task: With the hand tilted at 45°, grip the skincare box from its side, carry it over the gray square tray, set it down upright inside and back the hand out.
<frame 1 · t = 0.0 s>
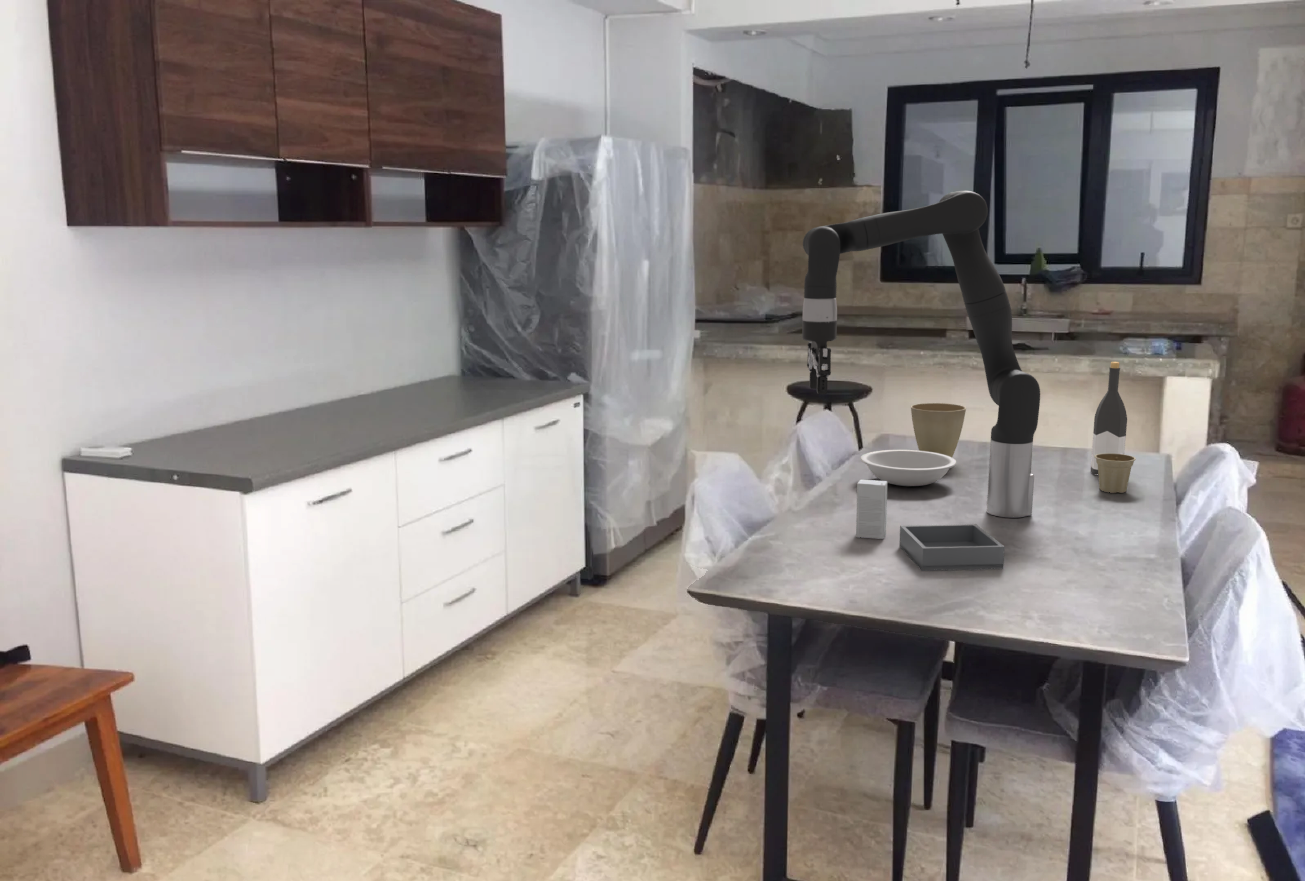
hand: (818, 391, 239), 29 cm above the table, tool pointing down, fingers open, 8 cm apart
wine bottle: (1106, 474, 285), on the table
skincare box: (870, 536, 230), on the table
flower pot: (1112, 491, 267), on the table
soup bowl: (906, 484, 276), on the table
plant pot: (935, 463, 300), on the table
gray square tray: (949, 557, 215), on the table
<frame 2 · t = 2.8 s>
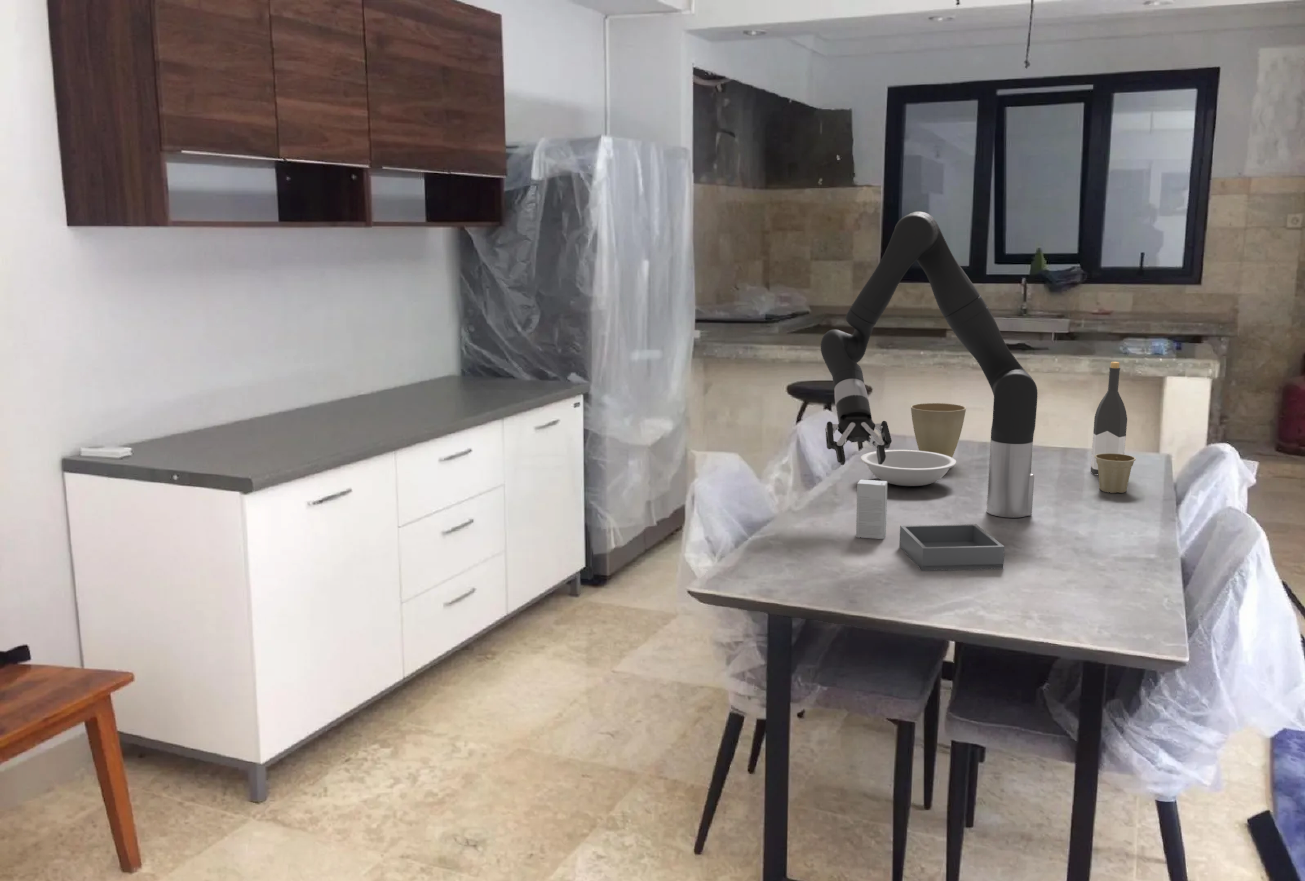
hand: (862, 462, 236), 14 cm above the table, tool tilted 45°, fingers open, 8 cm apart
nothing on the table moved.
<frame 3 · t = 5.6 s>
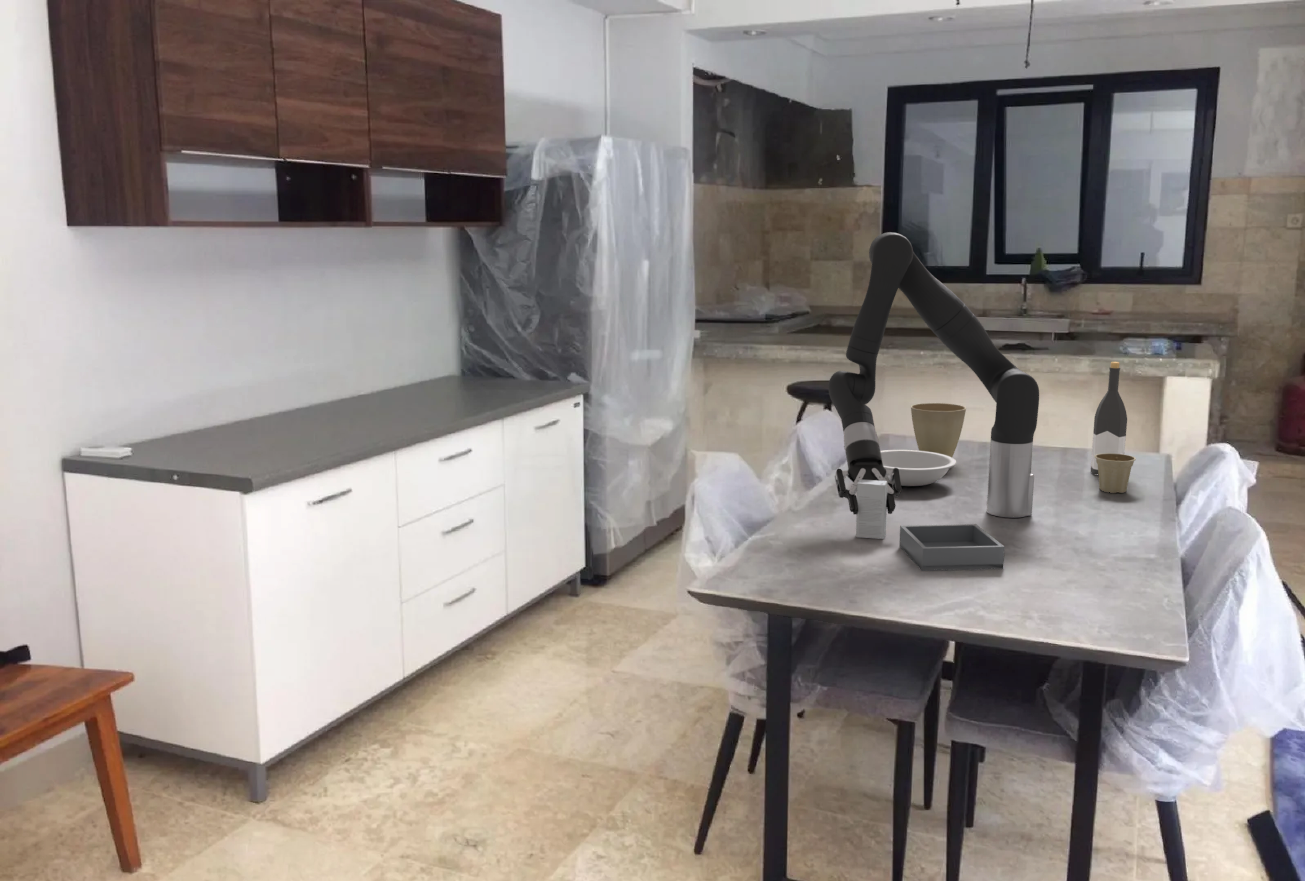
hand: (873, 512, 227), 6 cm above the table, tool tilted 45°, fingers closed on skincare box, 7 cm apart
skincare box: (870, 536, 230), on the table, touching gripper
everything else where it was.
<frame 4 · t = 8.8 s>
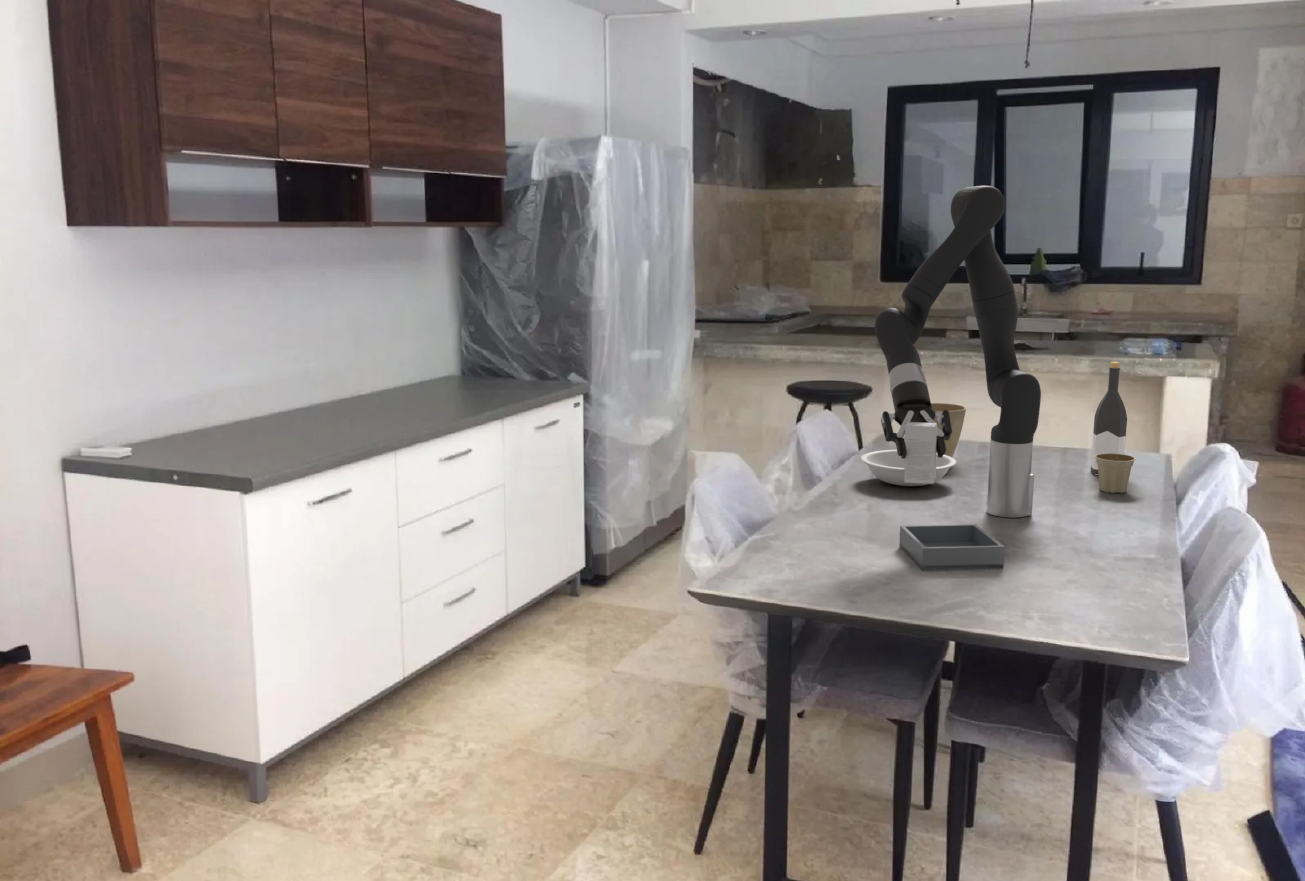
hand: (922, 455, 215), 20 cm above the table, tool tilted 45°, fingers closed on skincare box, 7 cm apart
skincare box: (919, 482, 218), point 14 cm above the table, touching gripper
everything else where it was.
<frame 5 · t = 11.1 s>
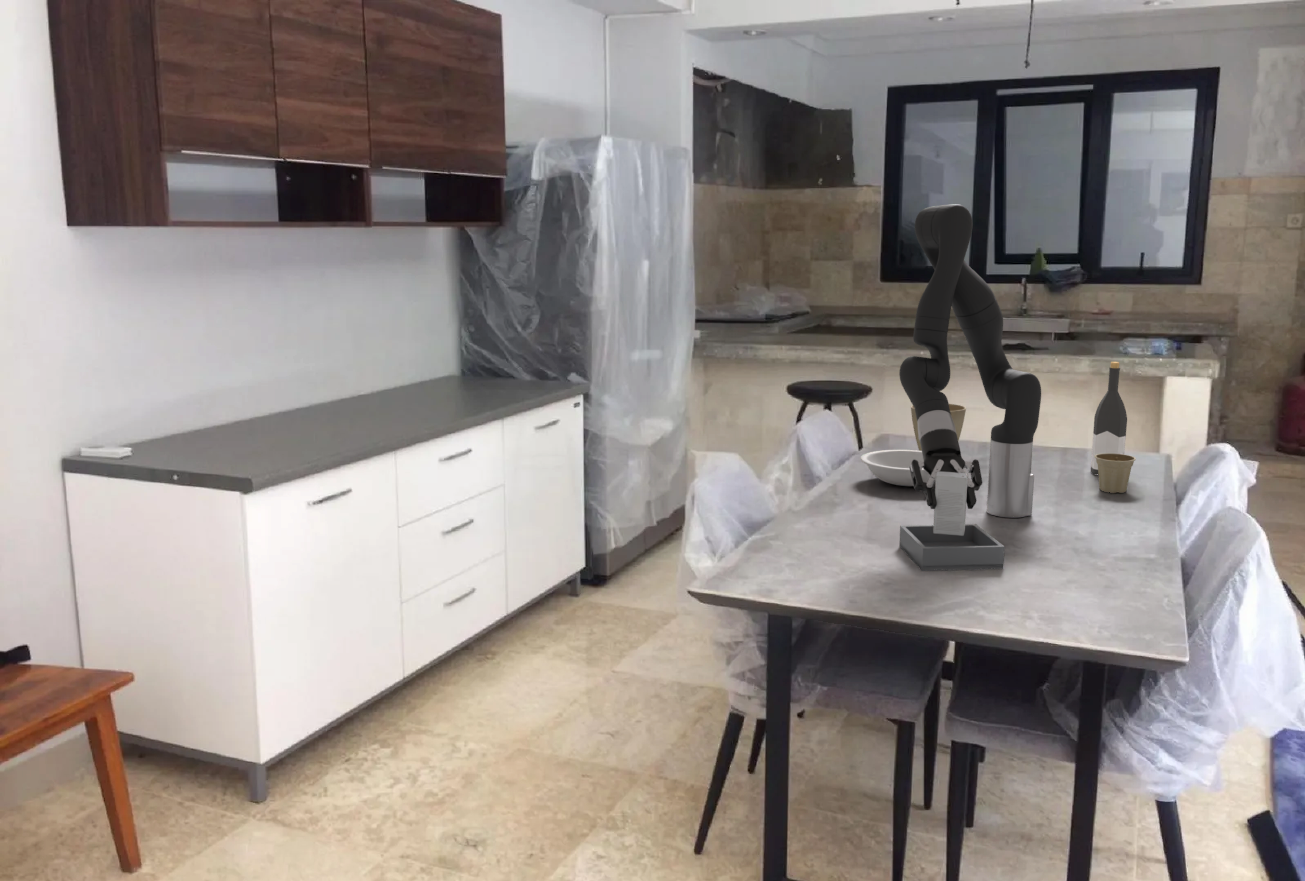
hand: (952, 506, 211), 11 cm above the table, tool tilted 45°, fingers closed on skincare box, 7 cm apart
skincare box: (948, 533, 214), point 5 cm above the table, touching gripper
everything else where it was.
when the fingers open (8 cm above the table, at t = 12.3 s): skincare box drops 1 cm, resting on gray square tray.
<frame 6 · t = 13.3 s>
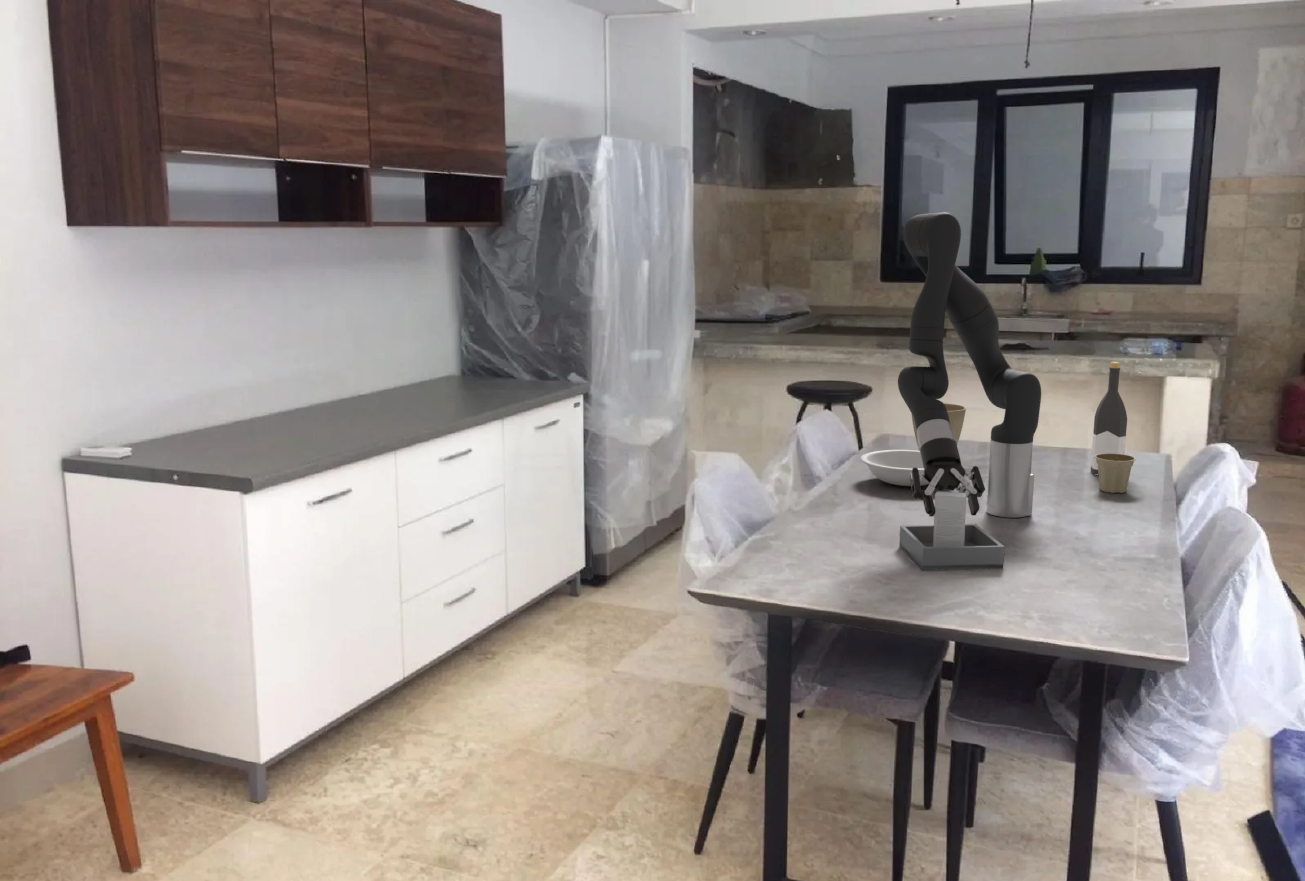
hand: (953, 514, 213), 9 cm above the table, tool tilted 45°, fingers open, 8 cm apart
skincare box: (948, 553, 215), point 1 cm above the table, touching gray square tray, gripper
everything else where it was.
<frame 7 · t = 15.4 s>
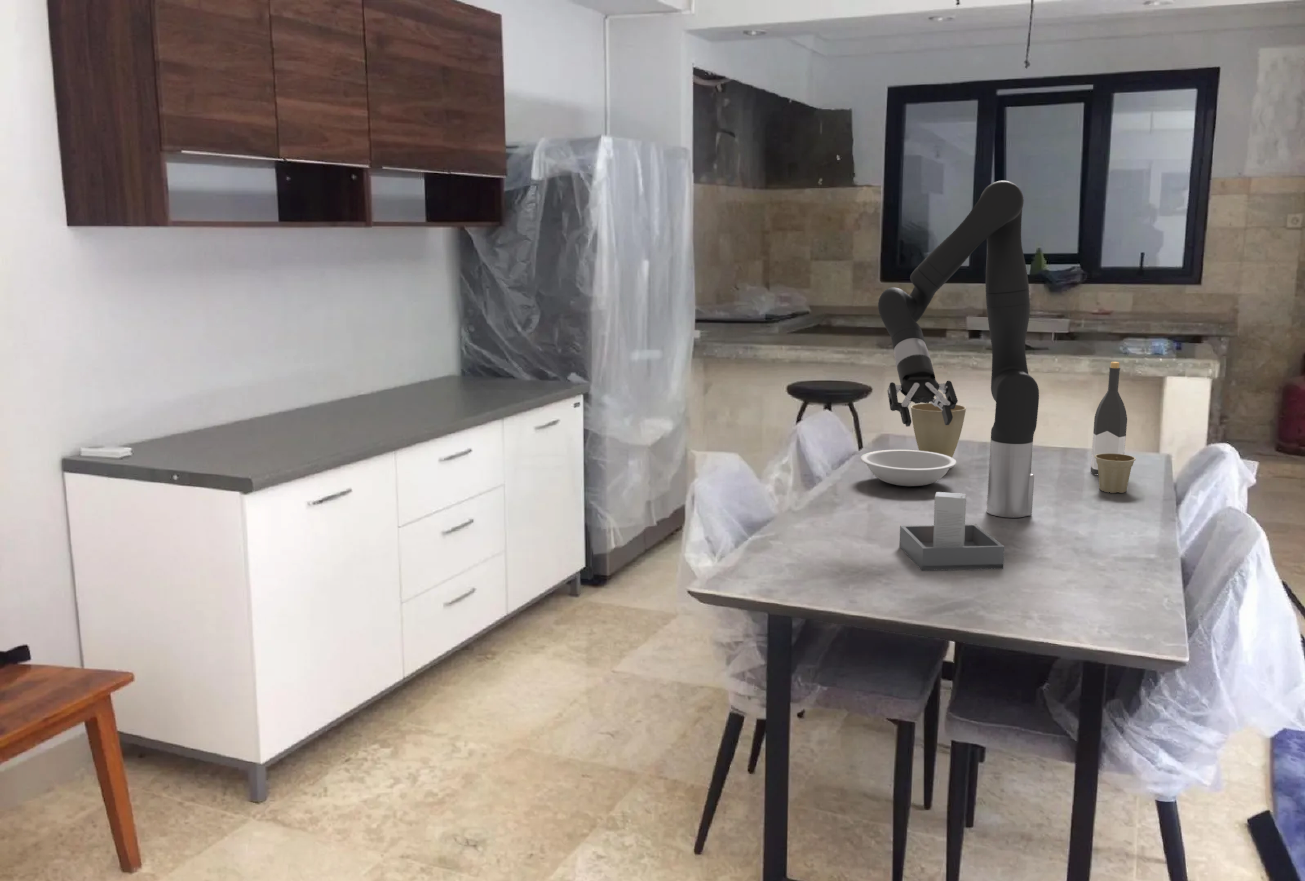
hand: (928, 423, 227), 24 cm above the table, tool tilted 45°, fingers open, 8 cm apart
skincare box: (948, 553, 215), point 1 cm above the table, touching gray square tray
everything else where it was.
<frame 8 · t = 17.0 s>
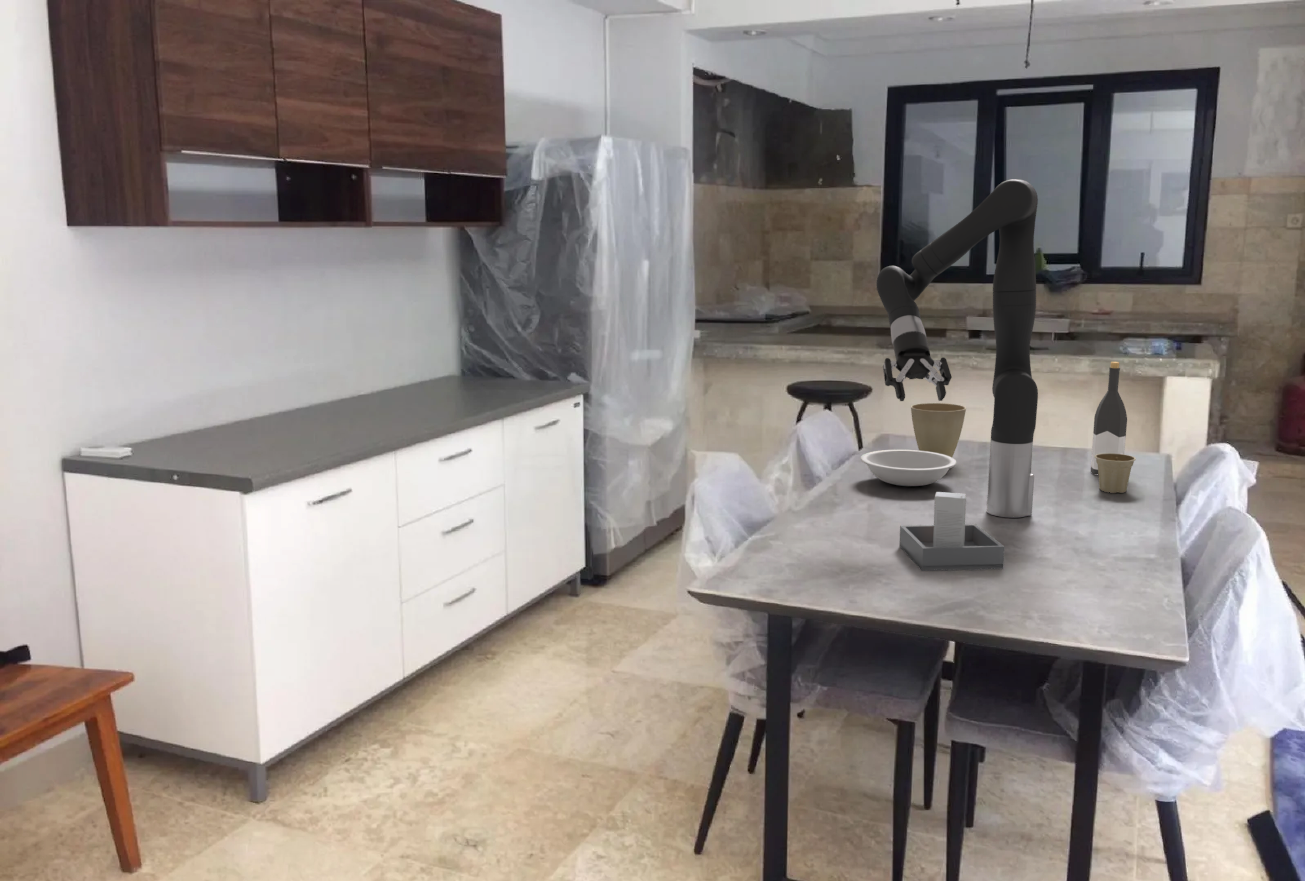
hand: (922, 398, 231), 29 cm above the table, tool tilted 45°, fingers open, 8 cm apart
nothing on the table moved.
at the end: skincare box inside the target area on the gray square tray (0.3 cm from its centre), point 0.8 cm above the gray square tray's base; skincare box tilted 0°; the gripper is holding nothing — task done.
